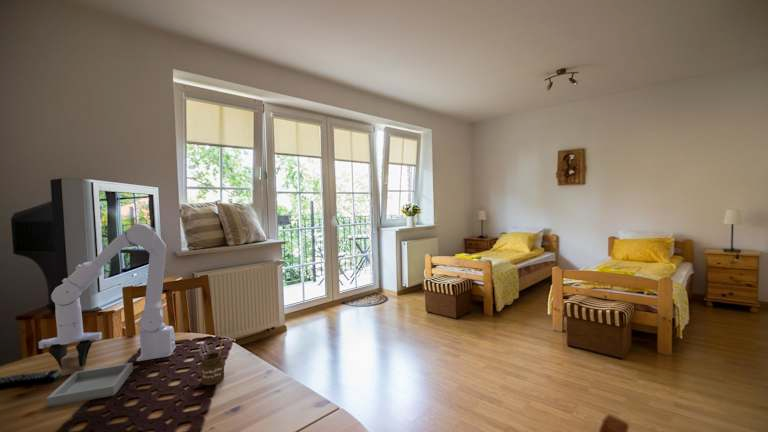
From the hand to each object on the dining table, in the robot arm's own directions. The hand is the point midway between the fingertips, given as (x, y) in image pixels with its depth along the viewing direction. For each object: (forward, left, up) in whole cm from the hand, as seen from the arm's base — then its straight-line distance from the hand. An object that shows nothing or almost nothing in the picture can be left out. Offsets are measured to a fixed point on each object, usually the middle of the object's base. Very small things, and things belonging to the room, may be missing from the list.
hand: (73, 366), depth 104 cm
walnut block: (0, 0, -1) cm, 1 cm away
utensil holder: (-41, +22, -2) cm, 47 cm away
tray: (-10, +13, -2) cm, 16 cm away
